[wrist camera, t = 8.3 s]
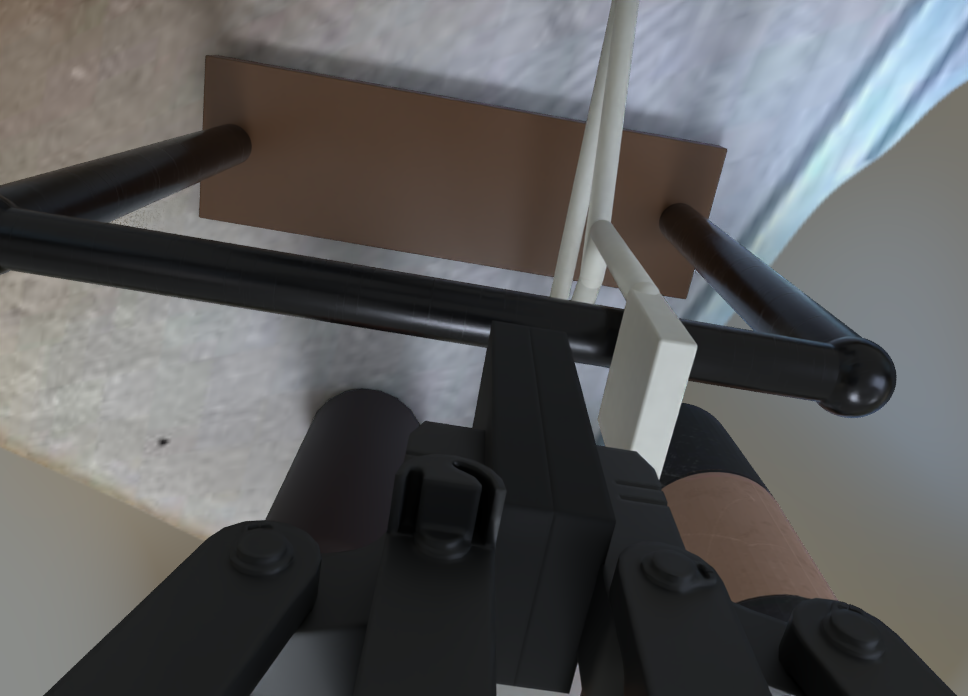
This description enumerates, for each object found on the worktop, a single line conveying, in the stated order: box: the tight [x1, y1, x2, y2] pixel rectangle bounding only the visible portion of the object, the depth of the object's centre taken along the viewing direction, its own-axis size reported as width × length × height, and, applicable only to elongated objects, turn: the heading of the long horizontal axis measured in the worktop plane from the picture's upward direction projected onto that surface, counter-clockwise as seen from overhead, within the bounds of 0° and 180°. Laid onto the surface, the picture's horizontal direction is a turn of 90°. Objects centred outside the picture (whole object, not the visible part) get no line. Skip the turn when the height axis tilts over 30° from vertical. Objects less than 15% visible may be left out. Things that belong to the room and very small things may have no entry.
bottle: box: [266, 389, 420, 553], centre depth 37 cm, size 7×7×20 cm
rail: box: [0, 55, 896, 418], centre depth 30 cm, size 8×26×23 cm, turn 80°
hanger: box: [550, 0, 697, 479], centre depth 24 cm, size 23×1×18 cm, turn 170°
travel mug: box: [659, 403, 838, 622], centre depth 37 cm, size 8×8×20 cm
